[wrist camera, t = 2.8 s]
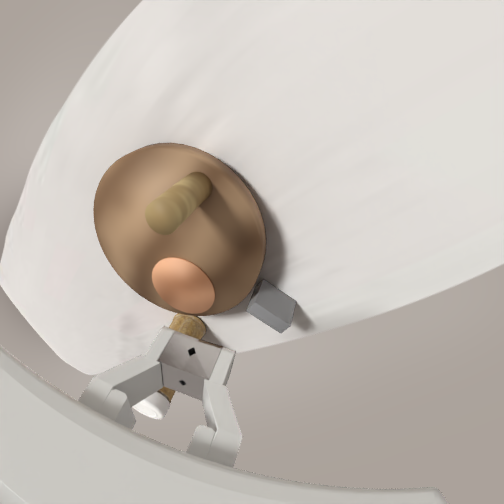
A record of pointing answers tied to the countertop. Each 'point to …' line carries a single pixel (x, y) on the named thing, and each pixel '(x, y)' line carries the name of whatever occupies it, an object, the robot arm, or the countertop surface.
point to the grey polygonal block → (271, 306)
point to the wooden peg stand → (180, 229)
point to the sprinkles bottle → (161, 399)
